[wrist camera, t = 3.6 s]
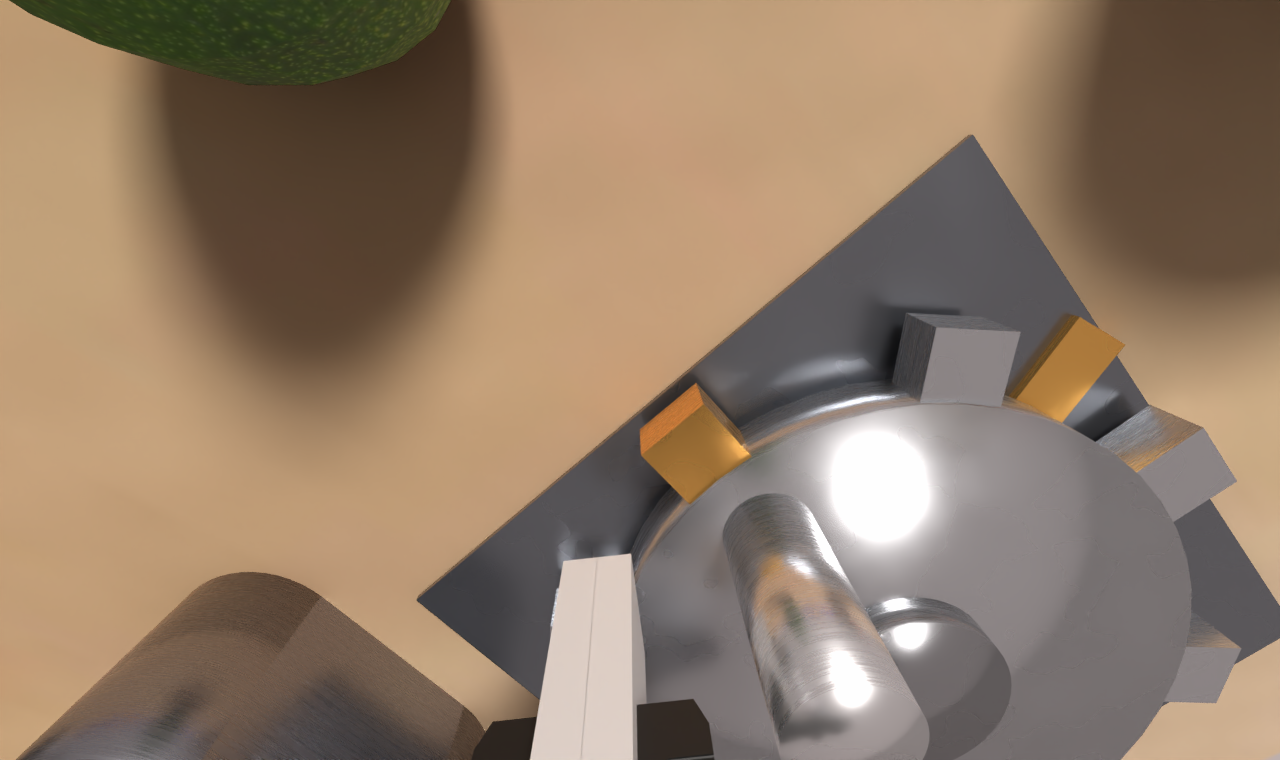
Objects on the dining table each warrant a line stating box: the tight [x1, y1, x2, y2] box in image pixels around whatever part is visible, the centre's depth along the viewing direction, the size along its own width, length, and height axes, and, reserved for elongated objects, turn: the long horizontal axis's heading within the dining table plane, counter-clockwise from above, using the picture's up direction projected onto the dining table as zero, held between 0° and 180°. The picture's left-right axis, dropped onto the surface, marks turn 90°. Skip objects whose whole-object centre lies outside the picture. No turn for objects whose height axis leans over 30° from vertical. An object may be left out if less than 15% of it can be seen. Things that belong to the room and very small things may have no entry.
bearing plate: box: [417, 135, 1280, 707], centre depth 19 cm, size 20×20×1 cm
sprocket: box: [550, 313, 1241, 760], centre depth 15 cm, size 20×20×8 cm
